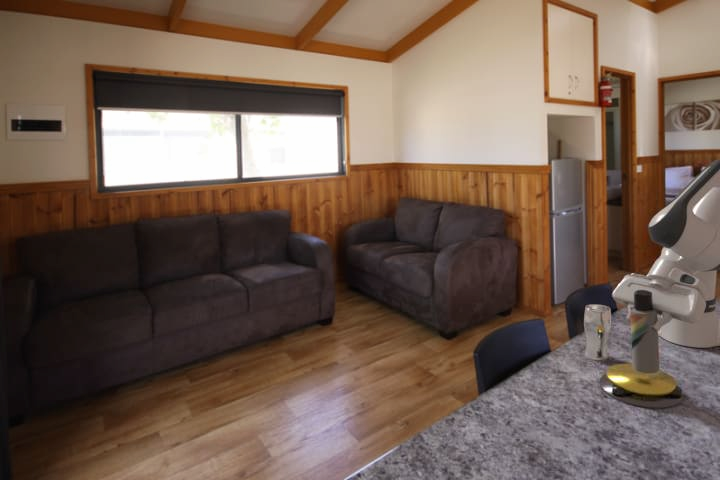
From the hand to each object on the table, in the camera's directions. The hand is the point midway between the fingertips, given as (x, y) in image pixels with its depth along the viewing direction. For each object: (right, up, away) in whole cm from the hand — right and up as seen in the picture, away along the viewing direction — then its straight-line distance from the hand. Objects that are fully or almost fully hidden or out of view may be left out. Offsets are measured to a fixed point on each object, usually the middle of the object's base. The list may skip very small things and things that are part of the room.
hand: (641, 325), depth 114 cm
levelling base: (+2, -17, +3) cm, 17 cm away
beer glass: (0, -14, +23) cm, 27 cm away
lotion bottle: (+2, -11, +2) cm, 12 cm away
